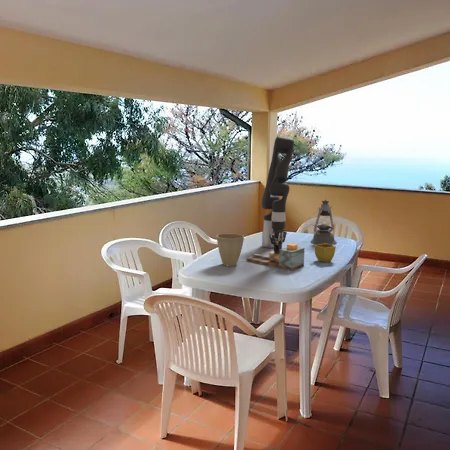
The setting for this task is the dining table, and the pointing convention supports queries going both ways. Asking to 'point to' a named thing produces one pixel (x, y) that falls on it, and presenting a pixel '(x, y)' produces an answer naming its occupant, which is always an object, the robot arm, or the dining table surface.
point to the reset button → (292, 246)
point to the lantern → (323, 226)
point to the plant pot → (230, 248)
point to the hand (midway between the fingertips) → (277, 250)
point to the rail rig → (282, 259)
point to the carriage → (275, 254)
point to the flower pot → (324, 252)
